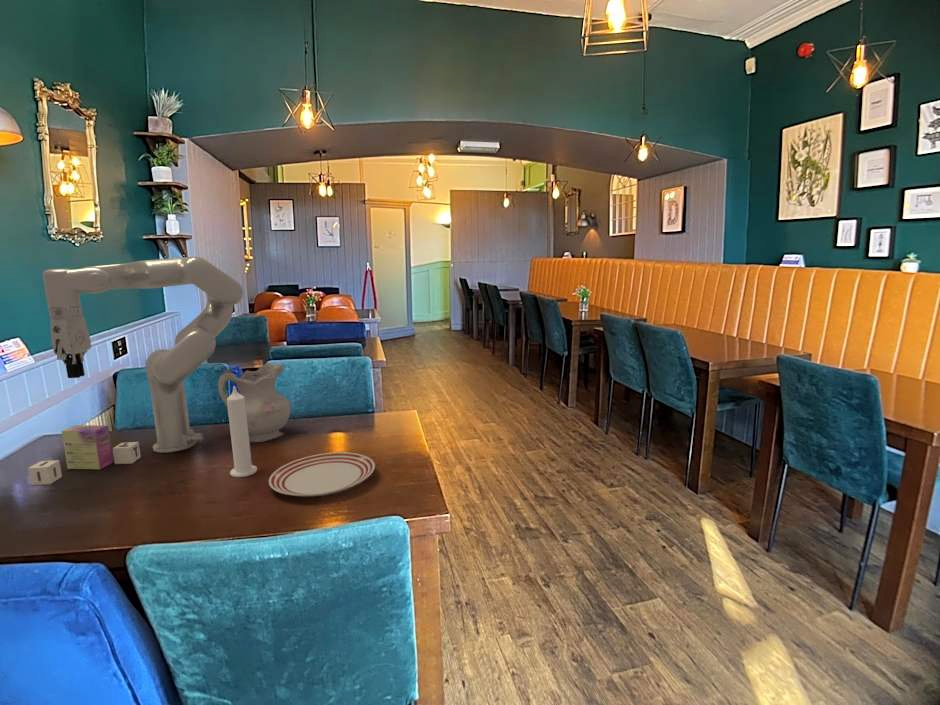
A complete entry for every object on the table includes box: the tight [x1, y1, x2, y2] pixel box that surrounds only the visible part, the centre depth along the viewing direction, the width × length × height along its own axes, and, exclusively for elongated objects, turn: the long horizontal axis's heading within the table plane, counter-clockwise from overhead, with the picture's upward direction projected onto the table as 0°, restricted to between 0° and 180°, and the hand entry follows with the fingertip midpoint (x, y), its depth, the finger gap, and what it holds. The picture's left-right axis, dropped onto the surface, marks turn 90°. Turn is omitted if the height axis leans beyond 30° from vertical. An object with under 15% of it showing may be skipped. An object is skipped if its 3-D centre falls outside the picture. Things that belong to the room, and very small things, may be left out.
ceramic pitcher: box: [217, 362, 291, 443], centre depth 183 cm, size 22×20×25 cm
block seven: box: [111, 441, 142, 465], centre depth 167 cm, size 5×5×5 cm
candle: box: [226, 385, 258, 478], centre depth 154 cm, size 7×7×25 cm
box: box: [61, 424, 114, 470], centre depth 163 cm, size 10×6×12 cm, turn 84°
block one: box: [27, 459, 63, 486], centre depth 154 cm, size 5×5×5 cm
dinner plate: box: [268, 451, 376, 497], centre depth 148 cm, size 28×27×3 cm
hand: (76, 376), depth 159 cm, fingers closed
